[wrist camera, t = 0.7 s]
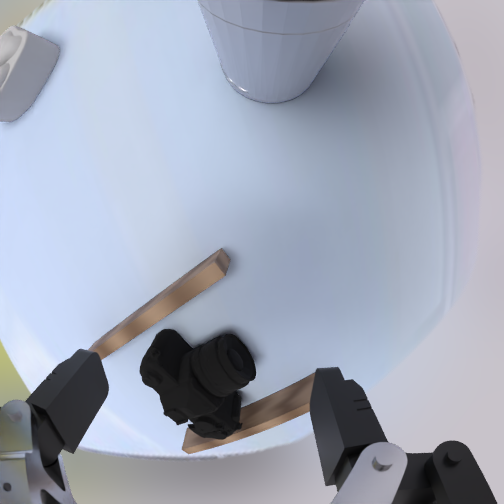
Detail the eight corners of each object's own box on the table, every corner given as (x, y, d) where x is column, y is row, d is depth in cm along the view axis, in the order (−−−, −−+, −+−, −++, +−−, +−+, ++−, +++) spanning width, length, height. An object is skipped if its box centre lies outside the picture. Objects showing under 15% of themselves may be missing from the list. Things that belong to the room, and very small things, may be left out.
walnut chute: (221, 248, 27) (214, 262, 23) (324, 376, 32) (331, 400, 28) (94, 342, 32) (78, 361, 27) (193, 433, 36) (188, 454, 32)
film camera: (280, 381, 32) (285, 435, 24) (221, 407, 34) (214, 457, 25) (204, 294, 29) (185, 341, 20) (145, 333, 31) (116, 379, 22)
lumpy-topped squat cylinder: (67, 50, 21) (26, 31, 13) (19, 134, 24) (-26, 133, 15) (36, 34, 19) (1, 19, 11) (-5, 108, 22) (-43, 105, 14)
